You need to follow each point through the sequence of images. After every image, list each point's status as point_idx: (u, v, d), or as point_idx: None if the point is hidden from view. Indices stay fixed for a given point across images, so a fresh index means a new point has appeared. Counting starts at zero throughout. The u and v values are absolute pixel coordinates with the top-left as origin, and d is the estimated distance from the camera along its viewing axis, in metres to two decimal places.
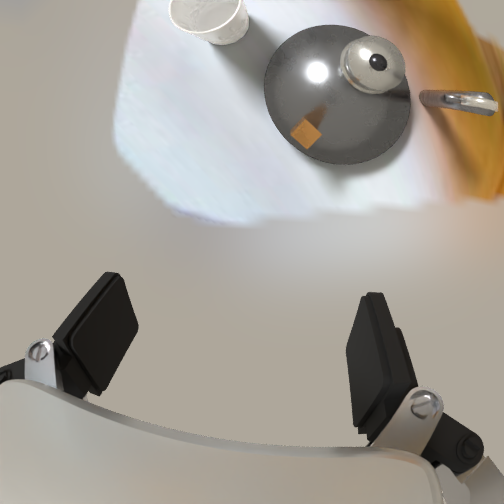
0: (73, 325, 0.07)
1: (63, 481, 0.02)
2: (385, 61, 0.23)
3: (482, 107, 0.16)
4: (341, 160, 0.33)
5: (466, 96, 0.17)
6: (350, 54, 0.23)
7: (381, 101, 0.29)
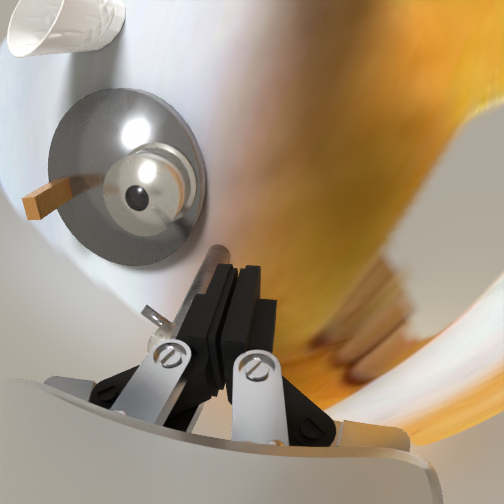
0: (211, 320, 0.08)
1: (63, 481, 0.02)
2: (146, 204, 0.21)
3: None
4: (79, 237, 0.28)
5: (153, 337, 0.18)
6: (113, 166, 0.19)
7: None
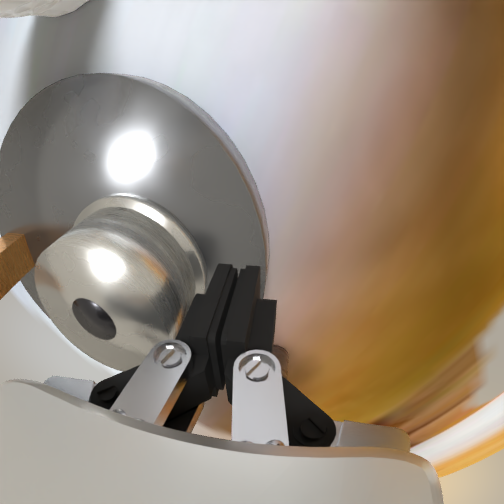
0: (211, 319, 0.08)
1: (63, 481, 0.02)
2: (112, 332, 0.10)
3: None
4: None
5: None
6: (41, 257, 0.09)
7: None
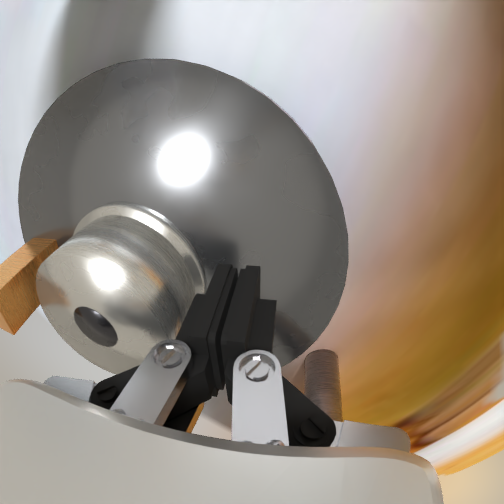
0: (211, 320, 0.08)
1: (63, 481, 0.02)
2: (114, 339, 0.10)
3: None
4: None
5: None
6: (41, 268, 0.09)
7: None
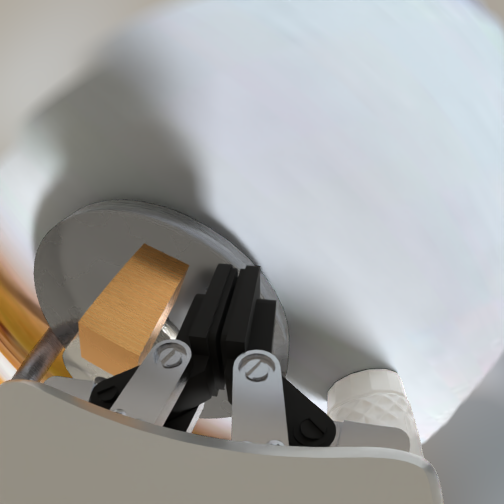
0: (211, 320, 0.08)
1: (63, 481, 0.02)
2: None
3: None
4: (65, 230, 0.13)
5: None
6: None
7: None
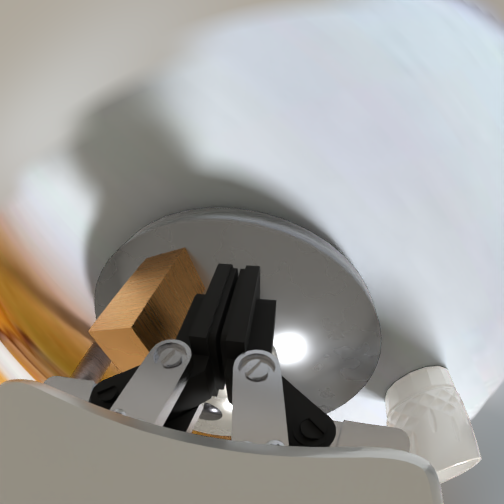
0: (211, 320, 0.08)
1: (63, 481, 0.02)
2: (201, 417, 0.14)
3: None
4: (101, 298, 0.16)
5: None
6: None
7: None
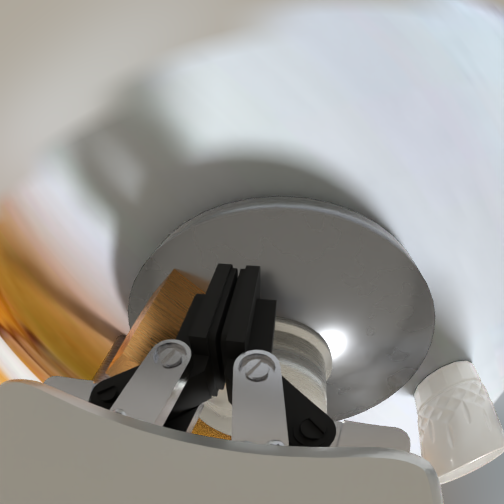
0: (211, 320, 0.08)
1: (63, 481, 0.02)
2: None
3: None
4: None
5: None
6: None
7: None
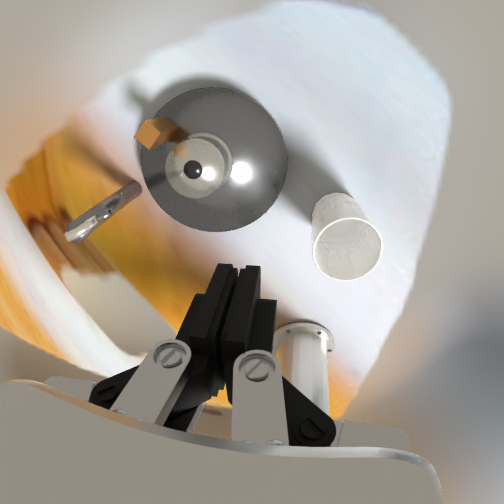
0: (211, 319, 0.08)
1: (63, 481, 0.02)
2: (196, 177, 0.30)
3: (75, 228, 0.26)
4: (145, 167, 0.34)
5: (92, 227, 0.27)
6: (193, 141, 0.28)
7: (207, 202, 0.36)
